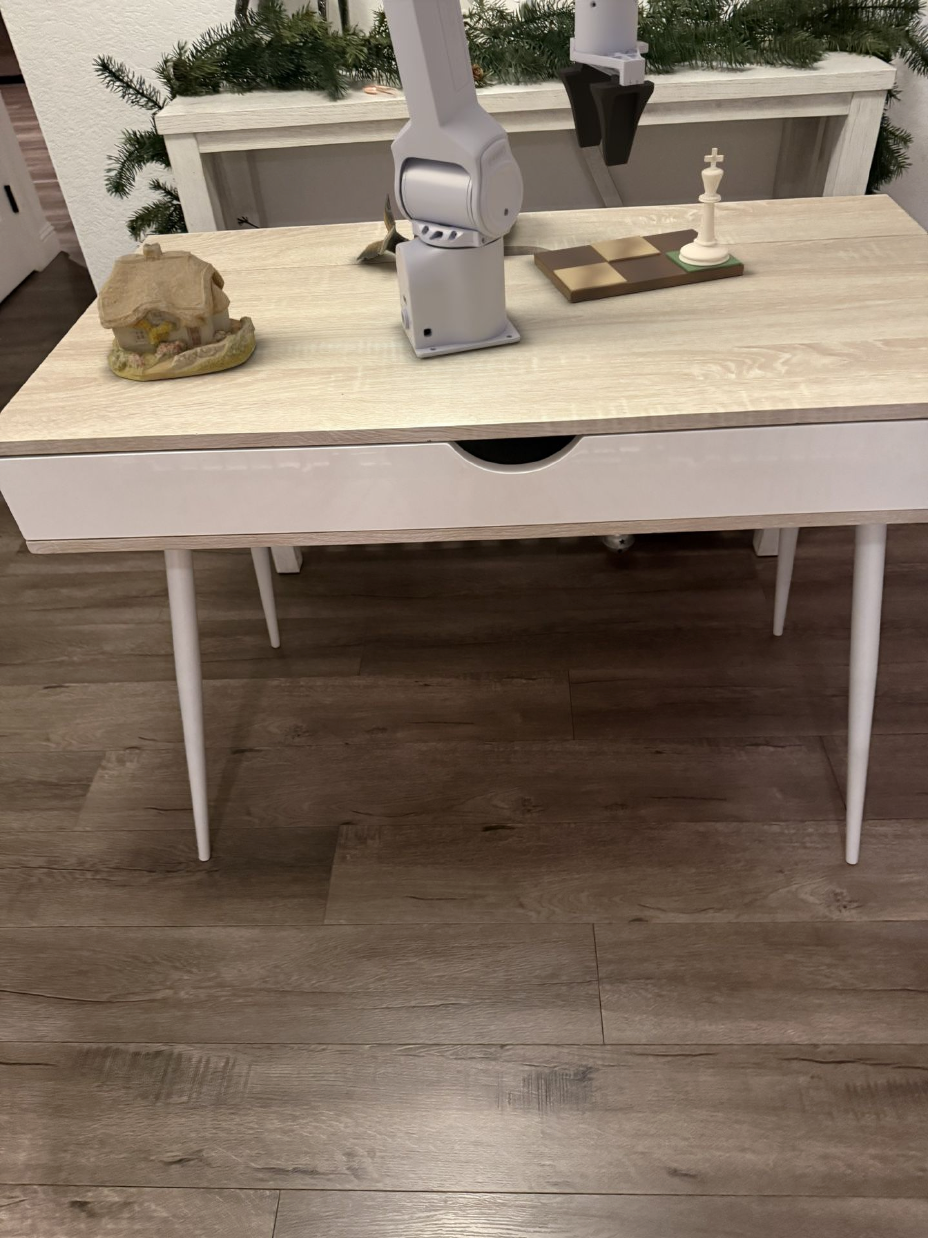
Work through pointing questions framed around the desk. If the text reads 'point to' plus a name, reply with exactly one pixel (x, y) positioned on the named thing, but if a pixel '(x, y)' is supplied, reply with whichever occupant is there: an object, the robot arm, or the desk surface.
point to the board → (628, 266)
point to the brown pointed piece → (389, 240)
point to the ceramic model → (170, 317)
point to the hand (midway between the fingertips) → (602, 154)
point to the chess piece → (707, 222)
